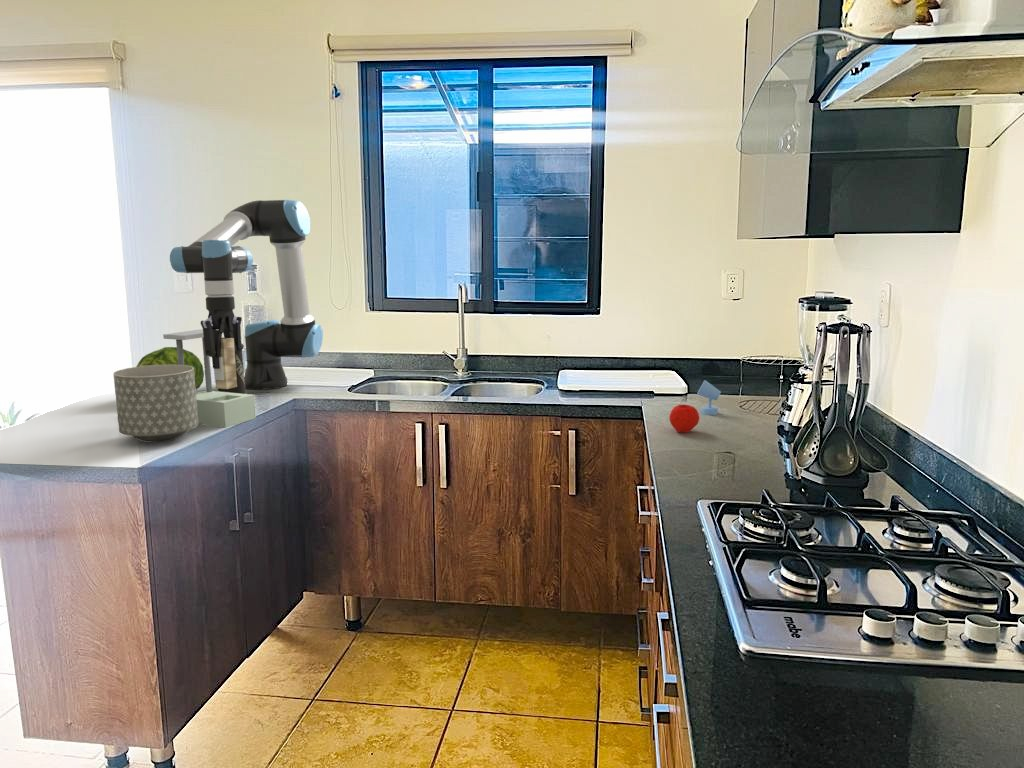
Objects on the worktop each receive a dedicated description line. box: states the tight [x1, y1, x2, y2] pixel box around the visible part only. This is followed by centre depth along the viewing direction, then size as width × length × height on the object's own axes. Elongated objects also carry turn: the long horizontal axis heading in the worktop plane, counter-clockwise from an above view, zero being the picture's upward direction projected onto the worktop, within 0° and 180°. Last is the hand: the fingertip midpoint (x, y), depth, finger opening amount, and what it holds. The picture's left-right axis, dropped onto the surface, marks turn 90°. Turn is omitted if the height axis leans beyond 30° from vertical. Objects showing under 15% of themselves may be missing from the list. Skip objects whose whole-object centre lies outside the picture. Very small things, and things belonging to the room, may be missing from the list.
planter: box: [113, 365, 199, 443], centre depth 203 cm, size 19×19×18 cm
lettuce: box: [135, 346, 205, 390], centre depth 251 cm, size 18×23×19 cm
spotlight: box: [696, 379, 722, 416], centre depth 230 cm, size 5×10×7 cm
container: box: [217, 342, 247, 394], centre depth 244 cm, size 9×9×20 cm
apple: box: [668, 404, 700, 434], centre depth 208 cm, size 8×8×7 cm
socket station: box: [162, 328, 257, 428], centre depth 224 cm, size 20×14×25 cm
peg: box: [214, 337, 237, 389], centre depth 221 cm, size 4×4×14 cm
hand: (225, 378), depth 221 cm, fingers closed on peg, 4 cm apart
